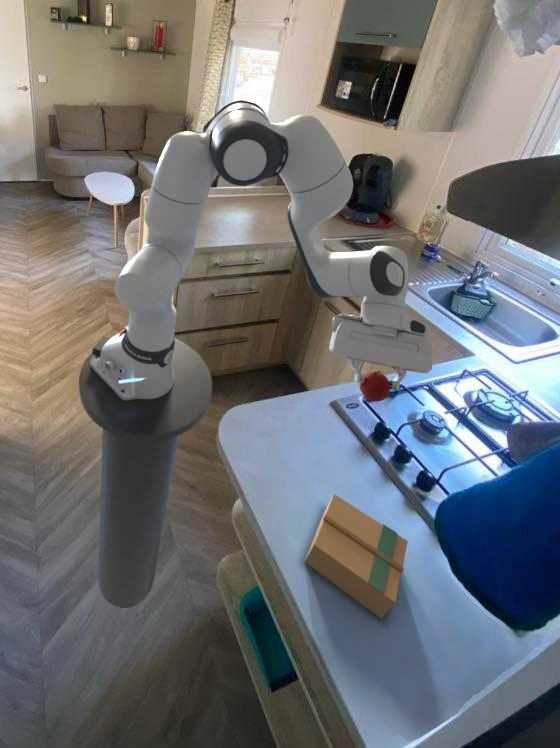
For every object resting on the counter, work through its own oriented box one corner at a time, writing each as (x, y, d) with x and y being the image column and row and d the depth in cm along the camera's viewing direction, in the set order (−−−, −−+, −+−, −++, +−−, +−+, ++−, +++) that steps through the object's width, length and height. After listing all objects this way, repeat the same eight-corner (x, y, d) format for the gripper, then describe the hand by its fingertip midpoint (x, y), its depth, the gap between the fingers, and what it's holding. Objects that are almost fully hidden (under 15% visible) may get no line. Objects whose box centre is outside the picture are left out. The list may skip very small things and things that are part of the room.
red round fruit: (378, 391, 93) (393, 365, 89) (385, 412, 88) (400, 385, 84) (352, 385, 93) (365, 359, 89) (357, 405, 88) (371, 379, 84)
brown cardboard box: (303, 562, 73) (313, 543, 70) (324, 510, 82) (333, 492, 78) (381, 620, 67) (396, 603, 64) (395, 558, 76) (409, 540, 72)
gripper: (338, 309, 89) (330, 375, 86) (438, 329, 87) (434, 398, 84) (329, 313, 95) (321, 375, 92) (422, 331, 93) (418, 396, 90)
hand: (376, 386), depth 88 cm, fingers closed on red round fruit, 5 cm apart
